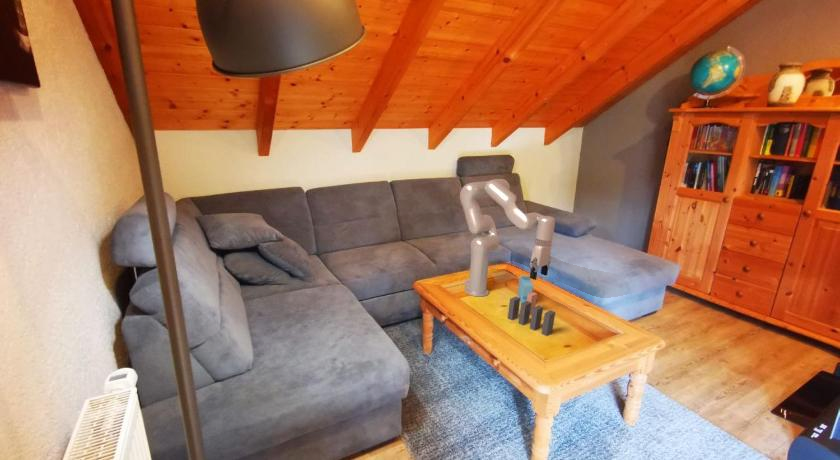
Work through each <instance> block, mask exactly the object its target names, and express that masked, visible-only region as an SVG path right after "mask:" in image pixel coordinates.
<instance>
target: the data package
mask: <svg viewBox="0 0 840 460" xmlns="http://www.w3.org/2000/svg"><path fill="white" fill-rule="evenodd" d="M518 281H519V282H518V289H517V297H519V298H520V304H521V303H523V302H525V301H527V296H528V294H530V293H532V292H533V288H534V283H533V282H532V280H531V278H530V276H527V275H526V276H525V275H520V276H519V280H518Z"/></svg>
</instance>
